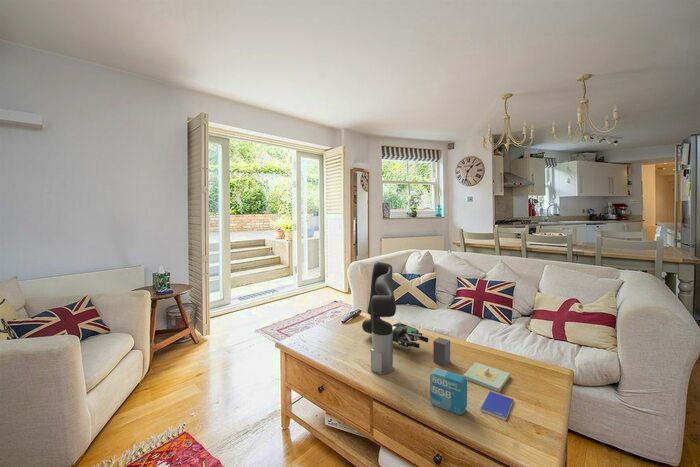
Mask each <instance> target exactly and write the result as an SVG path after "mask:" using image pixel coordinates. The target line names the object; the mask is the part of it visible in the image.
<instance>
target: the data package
mask: <svg viewBox="0 0 700 467" xmlns="http://www.w3.org/2000/svg"><path fill="white" fill-rule="evenodd" d="M429 401H430V403H431V404H432V405H433V406H436V407H438V408H440V409H443V410H446V411H449V412H450V413H453V414H456V415H459V416H461V415H463V414H464V413H465V411H466V409H467V407H468V380H467V379H466V378H465V377H464V376H463V375H461V374H457V373H453V372H451V371H447V370H445V369H441V368H435V369H434V370H433V371H432V372H431V374H430V376H429Z"/></svg>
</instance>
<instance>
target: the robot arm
mask: <svg viewBox="0 0 700 467" xmlns="http://www.w3.org/2000/svg"><path fill="white" fill-rule="evenodd" d="M394 291H395V290H394V280H393V266H392V265H391V264H389V263H386V262H381V261H376V262H374V264H373V267H372V272H371V282H370V296H369V302H368V306H367V314H368V315H369V316H370V319H369V318H367V319H365V320H363V321H362V324H361V327H362V330H363V331H364V332H365V333H367V334H371V349H370V370H371V372H375V373H376V374H379V375H381V376H382V375H386V374H390V373H392V371H393V370H394V348H393V347H394V342H395V343H397V345H399V346H402V347H404V348H408V349H409V347H410V348H411V347H413V348H416V349H420V345H421V344H420V343H418V342H417V341H421V342H425V343H428V342H429V338H428V337H427V336H423V332H415V331H412V333H407V331H406V330H405V329H403V328H399V327H396V326H392V325H393V324H392V323H390V322H388V321H386V320H384V319H382V318H391V317H392V318H393V317H394V316H395V315H396V312H397V303H396V298H395V295H394Z"/></svg>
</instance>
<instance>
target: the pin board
mask: <svg viewBox="0 0 700 467" xmlns="http://www.w3.org/2000/svg"><path fill="white" fill-rule="evenodd" d="M462 376H464V377H465V378H466V379H467V382H468V381H469V382H471V383H474V384H477V385H479V386H482V387H485V388H487V389H490V390H492V391H495V392H498V393H500V392H501V390H502V388H503V387H504V386H505V385H506V383H507V382H508V380H509V379H510V378H511V377H510V376H511V375H510V372H507V371H503V370H501V369H498V368H494V367H491V366H488V365H485V364H482V363H480V362H474V364H472V365H471V367H470V368H469V369H467V371H466V372H465V373H464V374H463V375H462Z"/></svg>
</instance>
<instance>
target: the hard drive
mask: <svg viewBox="0 0 700 467" xmlns="http://www.w3.org/2000/svg"><path fill="white" fill-rule="evenodd" d="M513 403H514V399H513V398H511V397H508V396H506V395H505V396H504V395H501V394H500V393H497V392H493V391H489V392H488V393H487V396H486V397H485V399H484V401H483V403H482V404H481V406H480V408H479V411H480V412H482V413H485V414H488V415H491V416H493V417H496V418H498V419H500V420H504V421H507V418H508V416H509V414H510V411H511V408H512V405H513Z"/></svg>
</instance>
